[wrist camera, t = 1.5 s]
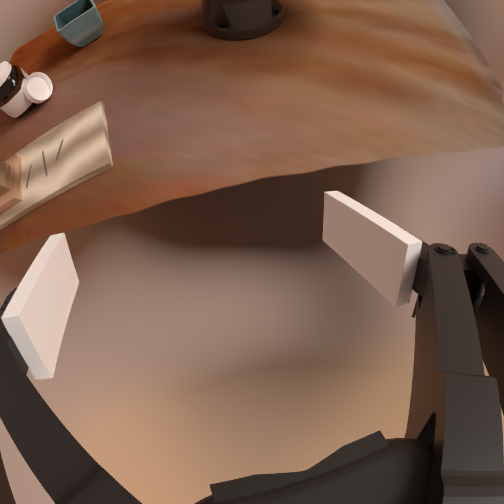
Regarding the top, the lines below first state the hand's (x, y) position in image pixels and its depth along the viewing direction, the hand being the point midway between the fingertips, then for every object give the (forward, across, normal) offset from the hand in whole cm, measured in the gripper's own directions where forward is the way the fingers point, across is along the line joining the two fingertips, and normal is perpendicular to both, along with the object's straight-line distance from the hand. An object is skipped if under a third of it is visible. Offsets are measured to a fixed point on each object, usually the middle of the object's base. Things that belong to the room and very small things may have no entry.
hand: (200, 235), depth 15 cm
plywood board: (+42, -23, -1) cm, 48 cm away
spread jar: (+55, -28, +14) cm, 63 cm away
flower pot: (+59, -15, +25) cm, 66 cm away
